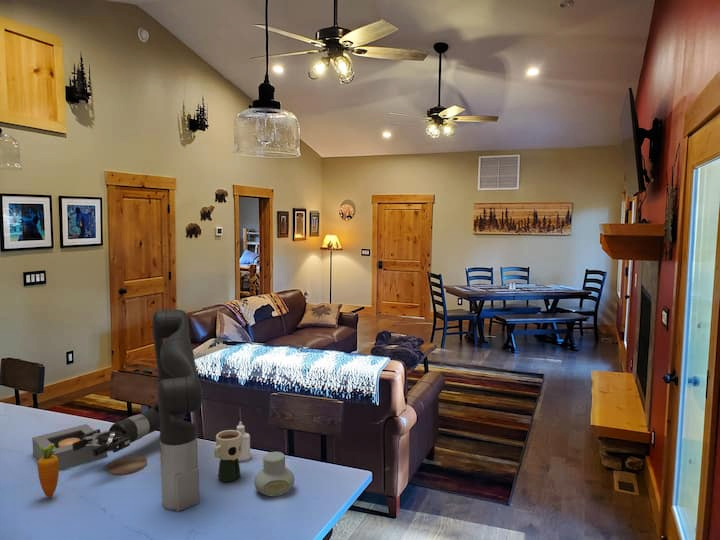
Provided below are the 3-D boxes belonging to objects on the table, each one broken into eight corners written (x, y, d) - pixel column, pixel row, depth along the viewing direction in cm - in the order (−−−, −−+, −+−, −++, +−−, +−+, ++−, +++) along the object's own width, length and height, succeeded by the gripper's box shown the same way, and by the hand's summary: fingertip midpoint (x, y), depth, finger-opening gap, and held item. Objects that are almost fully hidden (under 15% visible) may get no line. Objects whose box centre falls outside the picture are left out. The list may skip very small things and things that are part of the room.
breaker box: (107, 456, 164) (106, 439, 164) (49, 473, 153) (49, 455, 153) (87, 440, 177) (86, 424, 177) (33, 454, 166) (32, 437, 165)
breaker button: (83, 447, 165) (82, 441, 165) (62, 453, 161) (61, 447, 160) (76, 442, 169) (76, 436, 169) (56, 447, 165) (55, 441, 165)
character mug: (225, 489, 145) (224, 444, 144) (206, 482, 148) (205, 438, 147) (251, 473, 154) (251, 430, 153) (233, 467, 158) (232, 425, 157)
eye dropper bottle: (245, 463, 160) (244, 425, 159) (229, 461, 162) (228, 423, 161) (252, 457, 165) (252, 420, 164) (236, 455, 166) (236, 418, 165)
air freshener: (255, 501, 139) (255, 464, 138) (253, 486, 147) (252, 451, 146) (296, 495, 142) (296, 460, 141) (292, 481, 150) (291, 447, 149)
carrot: (34, 500, 139) (32, 445, 137) (53, 491, 143) (50, 438, 142) (46, 504, 136) (43, 449, 135) (64, 496, 141) (62, 442, 140)
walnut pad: (153, 466, 158) (153, 463, 158) (115, 478, 150) (115, 476, 150) (138, 454, 166) (138, 452, 166) (101, 466, 158) (101, 463, 158)
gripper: (113, 414, 166) (66, 433, 151) (146, 422, 160) (100, 442, 145) (114, 437, 166) (67, 458, 152) (147, 445, 161) (101, 468, 146)
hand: (83, 450), depth 148 cm, fingers open, 8 cm apart
